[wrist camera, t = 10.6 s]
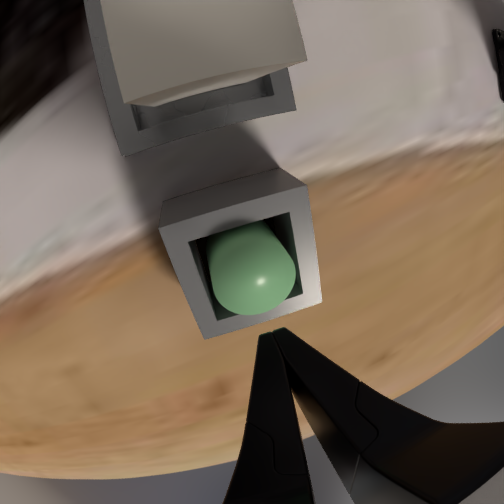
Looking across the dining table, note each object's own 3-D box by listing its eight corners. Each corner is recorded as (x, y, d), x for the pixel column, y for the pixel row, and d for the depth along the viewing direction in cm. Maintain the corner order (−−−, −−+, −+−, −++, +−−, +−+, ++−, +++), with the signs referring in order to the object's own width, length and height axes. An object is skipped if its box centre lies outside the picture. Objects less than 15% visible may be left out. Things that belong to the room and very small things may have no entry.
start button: (266, 205, 14) (288, 231, 12) (279, 265, 16) (300, 300, 13) (197, 226, 14) (201, 257, 11) (216, 284, 16) (225, 324, 13)
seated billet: (225, 4, 10) (267, -75, 4) (245, 82, 12) (307, 60, 6) (134, 26, 9) (93, -42, 3) (154, 106, 11) (123, 103, 5)
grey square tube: (280, 167, 15) (306, 185, 12) (298, 267, 18) (322, 302, 15) (163, 201, 14) (158, 228, 11) (198, 298, 17) (204, 339, 14)
